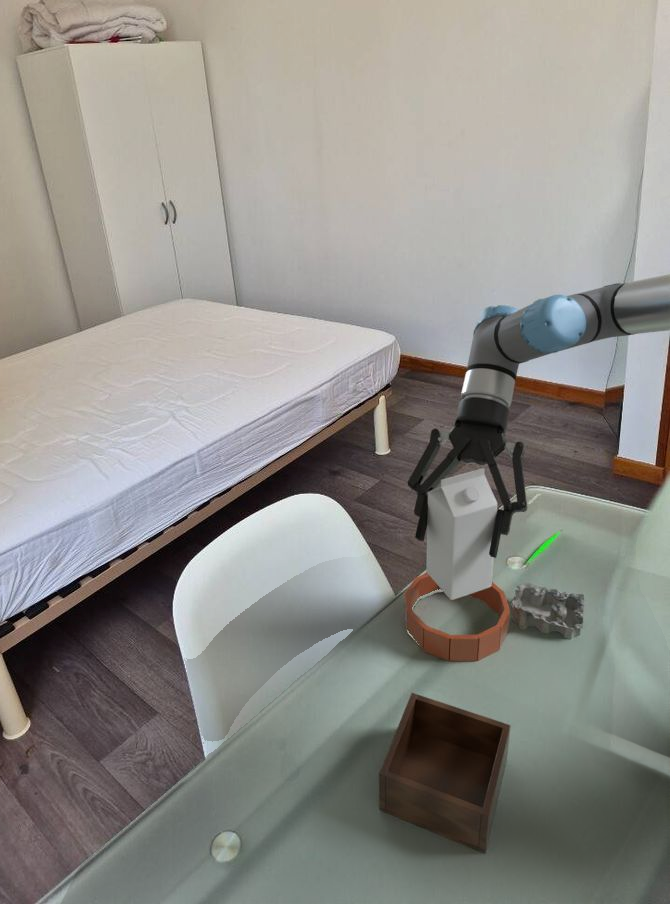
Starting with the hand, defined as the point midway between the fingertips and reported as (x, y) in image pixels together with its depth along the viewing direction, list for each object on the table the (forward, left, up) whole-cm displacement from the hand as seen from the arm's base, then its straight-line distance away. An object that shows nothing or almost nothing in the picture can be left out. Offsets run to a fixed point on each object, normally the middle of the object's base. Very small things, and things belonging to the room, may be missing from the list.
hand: (455, 547), depth 99 cm
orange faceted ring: (0, -3, -17) cm, 17 cm away
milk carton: (0, -3, -9) cm, 9 cm away
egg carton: (-12, -11, -17) cm, 24 cm away
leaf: (-7, -28, -17) cm, 34 cm away
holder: (-9, +23, -17) cm, 30 cm away
